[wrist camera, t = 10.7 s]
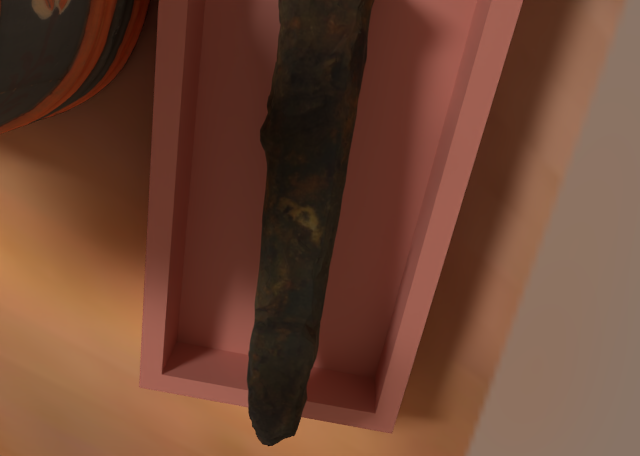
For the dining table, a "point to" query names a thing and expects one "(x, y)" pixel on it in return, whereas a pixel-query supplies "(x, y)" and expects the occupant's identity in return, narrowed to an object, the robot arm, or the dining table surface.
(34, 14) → the beer stein
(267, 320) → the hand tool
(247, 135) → the pink tray
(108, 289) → the dining table surface
